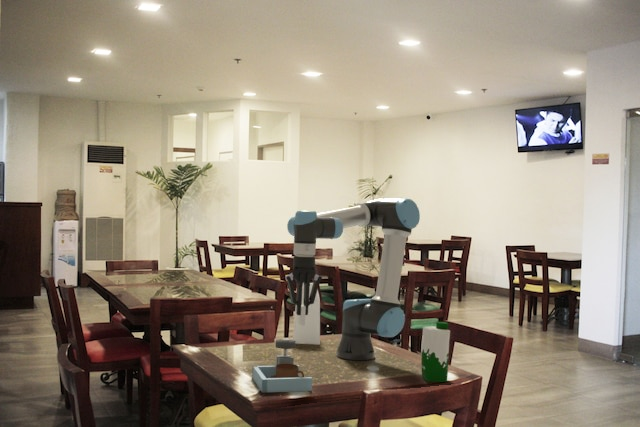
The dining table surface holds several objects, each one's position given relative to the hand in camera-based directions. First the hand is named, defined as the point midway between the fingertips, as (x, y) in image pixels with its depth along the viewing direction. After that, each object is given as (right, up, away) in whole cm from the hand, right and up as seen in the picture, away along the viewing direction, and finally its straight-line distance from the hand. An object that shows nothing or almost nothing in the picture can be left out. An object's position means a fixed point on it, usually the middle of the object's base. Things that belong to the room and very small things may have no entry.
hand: (301, 324), depth 216 cm
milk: (0, -19, +65) cm, 68 cm away
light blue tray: (-7, -18, -6) cm, 20 cm away
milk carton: (+46, -20, +6) cm, 51 cm away
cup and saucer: (-5, -18, -9) cm, 21 cm away
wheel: (-6, -12, +4) cm, 14 cm away
